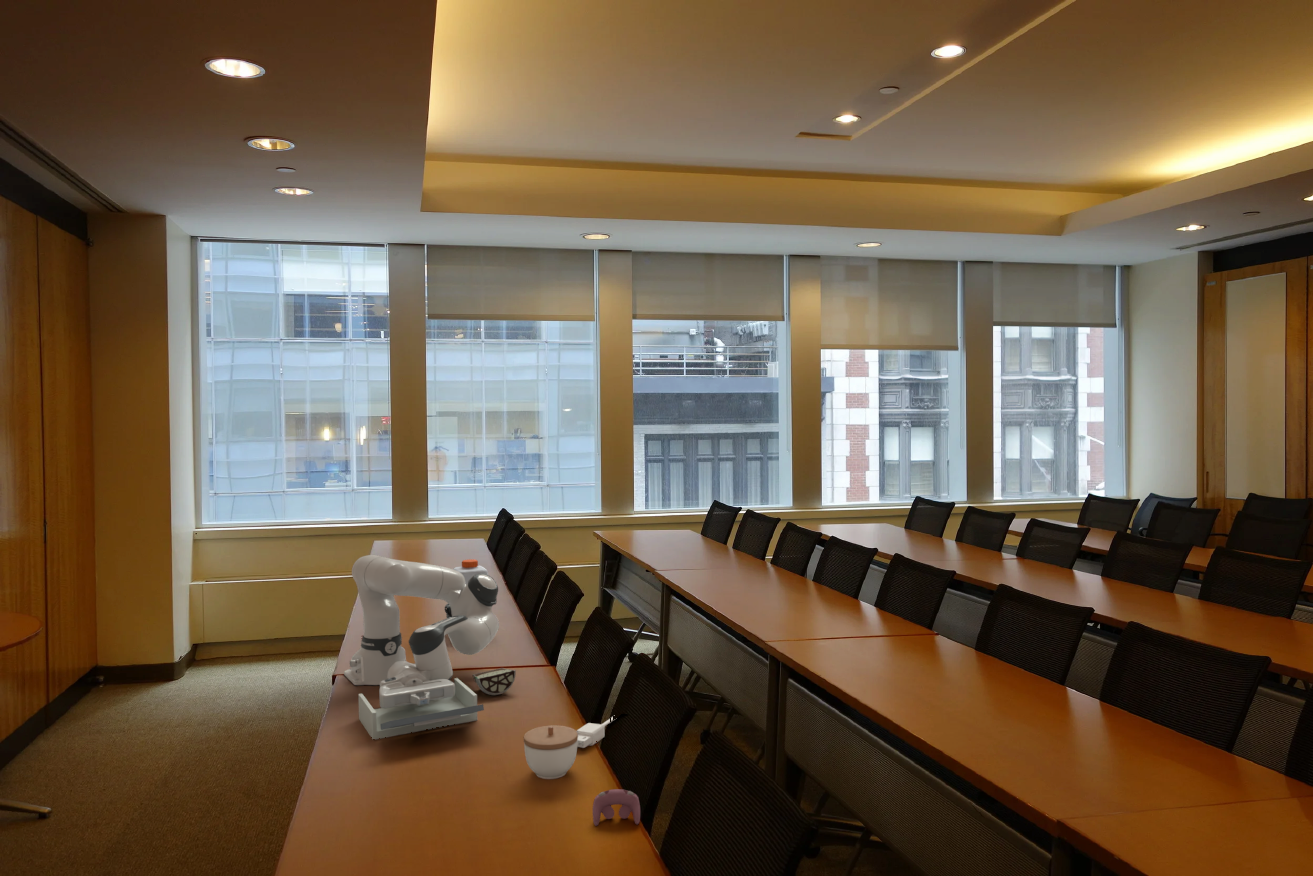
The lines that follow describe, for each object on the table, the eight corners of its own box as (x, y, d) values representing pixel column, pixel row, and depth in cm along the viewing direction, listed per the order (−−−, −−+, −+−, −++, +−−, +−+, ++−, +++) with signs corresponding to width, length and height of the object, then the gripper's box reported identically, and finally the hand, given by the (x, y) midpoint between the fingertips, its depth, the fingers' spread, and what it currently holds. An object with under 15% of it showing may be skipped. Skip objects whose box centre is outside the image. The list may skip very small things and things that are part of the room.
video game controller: (640, 825, 185) (639, 789, 188) (640, 824, 180) (640, 787, 183) (592, 826, 184) (592, 790, 187) (592, 826, 180) (592, 789, 183)
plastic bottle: (447, 631, 343) (445, 559, 342) (485, 626, 349) (484, 556, 348) (455, 640, 329) (454, 565, 328) (495, 635, 335) (494, 561, 334)
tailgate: (380, 724, 231) (390, 721, 221) (470, 707, 242) (483, 704, 232) (381, 733, 230) (391, 730, 220) (471, 716, 242) (484, 713, 232)
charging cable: (637, 714, 250) (637, 702, 250) (585, 751, 220) (585, 738, 220) (620, 712, 252) (620, 700, 252) (567, 748, 222) (567, 735, 222)
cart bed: (358, 719, 245) (358, 694, 245) (457, 701, 259) (457, 678, 259) (372, 739, 230) (372, 713, 229) (477, 720, 243) (477, 695, 243)
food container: (470, 696, 269) (480, 700, 260) (467, 675, 269) (477, 679, 261) (508, 687, 275) (519, 690, 266) (506, 667, 275) (517, 670, 267)
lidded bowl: (528, 787, 200) (527, 739, 199) (520, 766, 212) (520, 720, 212) (583, 780, 203) (582, 732, 203) (572, 759, 215) (572, 714, 215)
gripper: (448, 692, 253) (462, 706, 241) (375, 704, 244) (385, 720, 231) (448, 670, 253) (461, 683, 241) (374, 682, 243) (385, 696, 231)
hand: (423, 701), depth 236 cm, fingers closed
